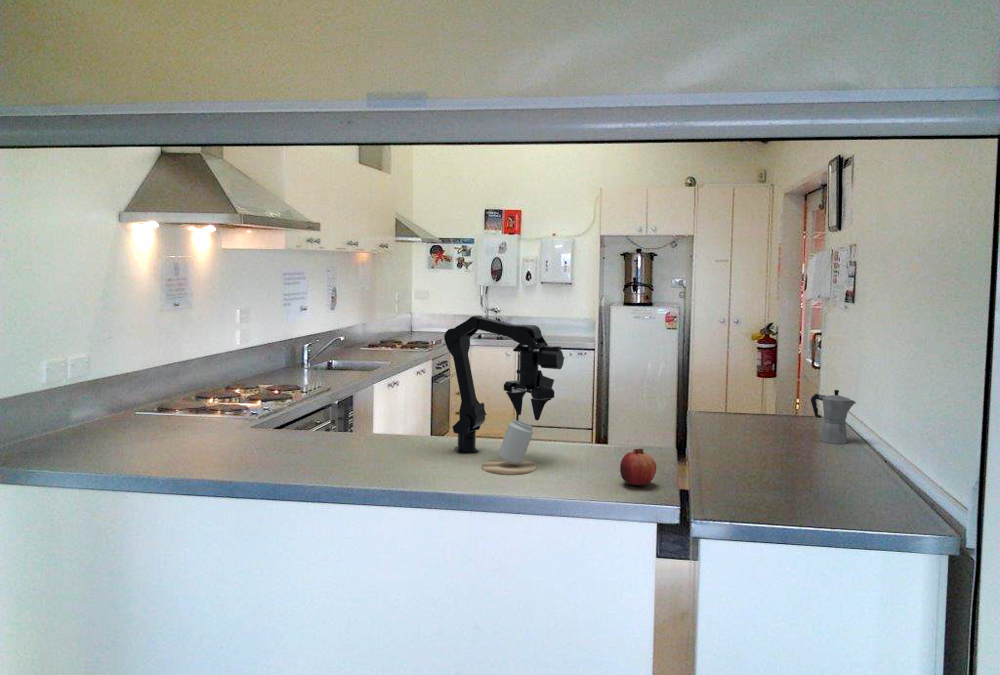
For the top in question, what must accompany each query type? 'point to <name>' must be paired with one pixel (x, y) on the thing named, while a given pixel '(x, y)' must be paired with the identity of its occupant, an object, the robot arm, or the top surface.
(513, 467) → the trivet
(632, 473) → the fruit
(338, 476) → the top surface
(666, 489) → the top surface
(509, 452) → the can
